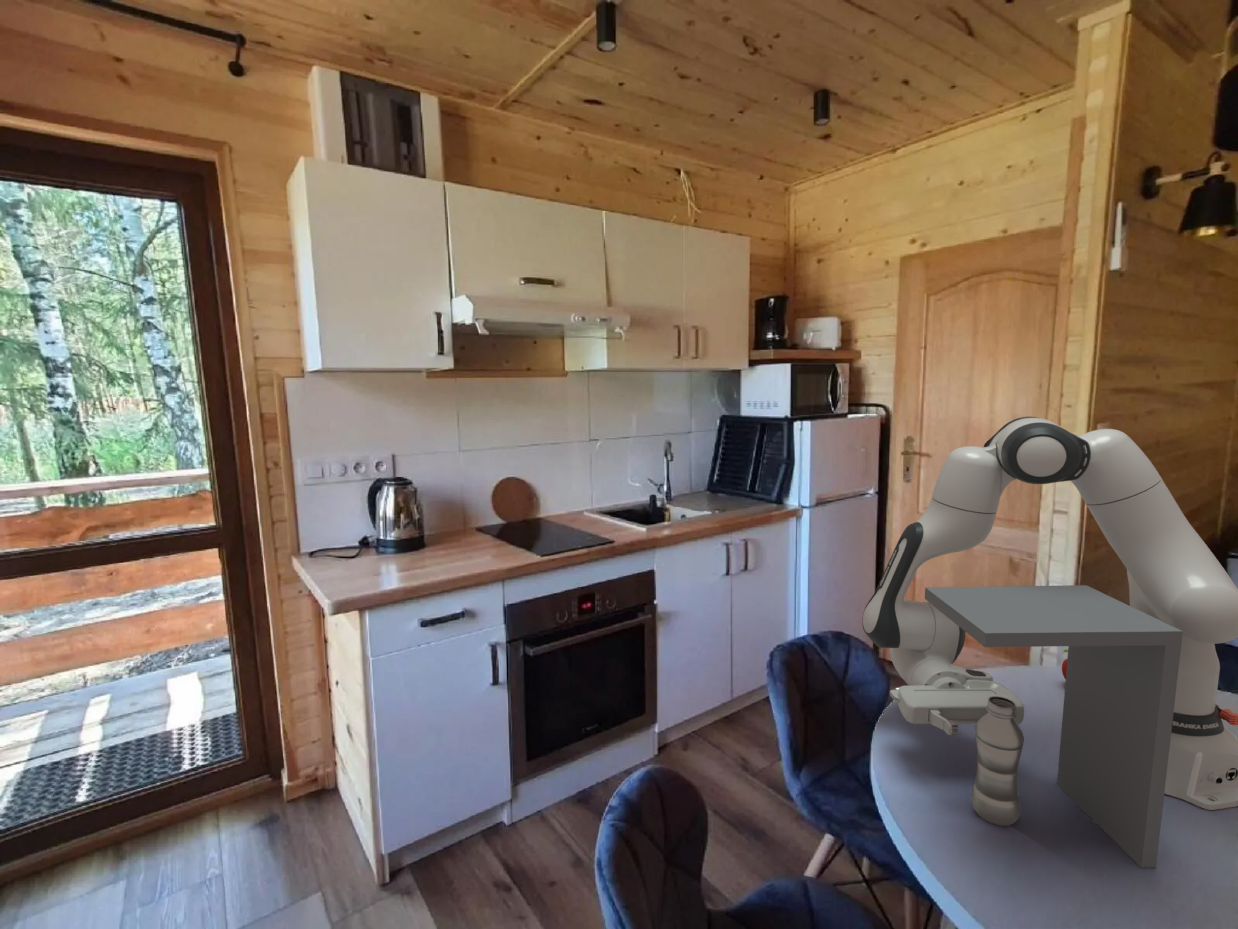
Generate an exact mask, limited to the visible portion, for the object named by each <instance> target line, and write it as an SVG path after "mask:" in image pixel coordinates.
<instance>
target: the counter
mask: <svg viewBox="0 0 1238 929" xmlns="http://www.w3.org/2000/svg"><path fill="white" fill-rule="evenodd" d="M924 600H925V601H926V602H929V603H930V604H932V605H933V606H934V607H935V608H937V609H938V610H939V611H940V612H942V613H943V614H944V615H945V616H947V617H948V618H949V619H950V620H952V621H953V622H954V623H955V624H957V625H958V626H959V627H960V628H962V629H963V630H964V631H965V633H967V634H968V635H969V636H970V637H972V638H973V639H974V640H975V641H976V642H978V643H979V644H980V645H982V646H983V647H984V648H998V647H999V648H1001V647H1002V648H1005V647H1006V648H1007V647H1008V648H1011V647H1012V648H1013V647H1016V648H1017V647H1019V648H1021V647H1022V648H1023V647H1026V648H1027V647H1028V648H1031V647H1067V649H1068V652H1067V659H1068V660H1067V671H1066V680H1065V682H1064V683H1065V686H1064V696H1063V698H1064V699H1063V706H1062V707H1063V710H1062V718H1061V719H1062V720H1061V733H1060V741H1059V742H1060V745H1059V753H1058V754H1059V756H1058V765H1057V766H1058V767H1057V768H1058V769H1057V779H1056V780H1057V781H1056V785H1058V787H1059V788H1060V789H1061V790H1062V791H1063V792H1064V793H1065V794H1066V795H1067V796H1068V797H1069V798H1070V799H1071V800H1072V801H1073V802H1074V803H1076V805H1078V806H1079V808H1081V810H1082V811H1083V812H1084V813H1085V814H1087V815H1088V817H1089V818H1090V819H1091V820H1092V821H1094V823H1096V824H1097V826H1098V827H1100V829H1101V830H1102V831H1103V832H1104V833H1106V834H1107V835H1108V836H1109V838H1111V840H1113V841H1114V842H1115V843H1116V845H1118V847H1120V848H1121V849H1122V850H1123V851H1124V852H1125V853H1126V854H1127V856H1129V857H1130V858H1131V859H1132V860H1133V861H1134V863H1136V864H1137V865H1138V866H1139V867H1140V868H1141V869H1156V868H1157V862H1158V861H1157V860H1158V854H1159V853H1158V852H1159V842H1160V836H1161V825H1162V819H1163V818H1162V817H1163V816H1162V815H1163V809H1164V802H1165V801H1164V800H1165V794H1164V792H1165V783H1166V774H1167V766H1168V757H1169V748H1170V739H1171V730H1172V722H1173V713H1174V704H1175V695H1176V687H1177V678H1178V669H1179V660H1180V651H1181V643H1182V634H1183V631H1181V630H1179V629H1177V628H1175V627H1173V626H1171V625H1169V624H1166V623H1164V622H1162V621H1160V620H1158V619H1156V618H1154V617H1152V616H1150V615H1148V614H1146V613H1143V612H1141V611H1139V610H1137V609H1135V608H1133V607H1131V606H1130V604H1129V605H1128V604H1126V603H1124V602H1123V601H1120V600H1118V599H1115V598H1114V597H1112V596H1110V595H1108V594H1105V593H1103V592H1102V591H1099V590H1097V589H1095V588H1093V587H1091V586H1089V585H1087V584H1081V585H1079V584H1078V585H1075V584H1074V585H1014V586H1013V585H1009V586H1007V585H1005V586H1001V585H1000V586H999V585H997V586H995V585H994V586H938V587H937V586H931V587H930V586H929V587H928V586H925V587H924Z"/></svg>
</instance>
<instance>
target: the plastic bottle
mask: <svg viewBox="0 0 1238 929" xmlns="http://www.w3.org/2000/svg"><path fill="white" fill-rule="evenodd" d="M986 710H987V712H988V713H987V714H985V715H984V716H983V717H982V718H980V719H979V720H978V722H977V724H976V725H975V727H974V729H975V730H974V731H975V738H976V739H975V740H976V741H975V742H976V748H977V751H976V752H977V769H976V776H975V782H974V783H973V787H972V790H971V791H972V792H971V795H970V796H971V802H972V807H973V809H974V811H975V812H976V813H977V815H978V816H979V817H981V819H983V820H984V821H986V822H987V823H991V824H993V825H996V826H997V825H998V826H1002V827H1007V826H1011V825H1014V824H1015V823H1016V822H1017V821H1018V819H1019V817H1020V813H1021V804H1020V797H1019V790H1018V789H1019V787H1018V773H1019V764H1020V759H1021V756H1022V752H1023V748H1024V747H1023V746H1024V743H1025V742H1024V741H1025V736H1024V733H1023V731H1022V729H1021V727H1020V725H1019V724H1017V723H1016V721H1015V720H1014V718H1015V717H1016V712H1015V711H1016V704H1015V703H1014V702H1013V701H1011V700H1010V699H1007V698H1004V697H999V696H992V697H989V698H988V705H987V708H986Z"/></svg>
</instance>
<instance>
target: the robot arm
mask: <svg viewBox="0 0 1238 929" xmlns="http://www.w3.org/2000/svg"><path fill="white" fill-rule="evenodd" d="M1016 480H1018V481H1020V482H1023V483H1027V484H1031V485H1047V484H1048V485H1049V484H1053V483H1059V482H1060V483H1061V482H1062V483H1063V482H1068V481H1069V482H1071V483H1072V484H1073V486H1075V487H1076V490H1077V491H1078V492H1079V494H1080V496H1081V497H1082V500H1083V501H1084V504H1085V505H1086V507H1087V508H1088V510H1089V511H1090V514H1091V515H1092V517H1093V518H1094V520H1095V522H1096V523H1097V526H1098V527H1099V528H1100V531H1101V532H1102V534H1103V536H1104V537H1105V539H1106V540H1107V543H1108V545H1109V546H1111V548H1112V550H1113V551H1114V552H1115V554H1116V555H1117V557H1118V559H1120V561H1121V562H1122V564H1123V565H1124V567H1125V568H1126V575H1127V581H1128V589H1129V590H1128V592H1129V606H1131V607H1133V608H1135V609H1137V610H1139V611H1141V612H1143V613H1146V614H1148V615H1150V616H1152V617H1154V618H1156V619H1158V620H1160V621H1162V622H1164V623H1166V624H1169V625H1171V626H1173V627H1175V628H1177V629H1179V630H1181V631H1183V634H1182V643H1181V651H1180V660H1179V669H1178V678H1177V687H1176V695H1175V704H1174V713H1173V722H1172V730H1171V739H1170V748H1169V757H1168V766H1167V774H1166V783H1165V792H1164V795H1168V796H1172V797H1175V798H1178V799H1182V800H1184V801H1186V802H1188V803H1191V804H1193V805H1195V806H1197V807H1199V808H1202V809H1204V810H1208V811H1209V810H1210V811H1215V810H1216V811H1217V810H1222V809H1228V808H1235V807H1238V736H1236V735H1235V734H1234V733H1233V732H1232V731H1230V730H1229V729H1228V728H1227V727H1225V726H1224V722H1223V721H1226V723H1228V724H1230V725H1231V726H1238V713H1236V712H1234V711H1232V710H1231V709H1229V708H1224V709H1222V708H1221V707H1220V705H1217V703H1216V702H1217V697H1218V696H1217V694H1218V689H1219V688H1218V686H1219V679H1220V677H1219V676H1220V671H1221V670H1220V669H1221V664H1220V660H1219V657H1218V654H1217V651H1216V645H1215V644H1224V643H1229V642H1232V641H1234V640H1237V639H1238V587H1237V586H1236V584H1235V582H1234V581H1233V580H1232V578H1231V577H1230V576H1229V575H1228V573H1227V571H1226V570H1225V568H1224V567H1223V566H1222V564H1221V562H1219V559H1217V557H1216V556H1215V554H1214V553H1213V552H1212V551H1211V549H1210V548H1209V547H1208V545H1207V544H1206V543H1205V542H1204V540H1203V539H1202V538H1201V536H1200V534H1199V533H1198V532H1197V531H1196V530H1195V529H1194V527H1193V526H1192V525H1191V523H1190V522H1189V520H1188V519H1187V517H1186V516H1185V515H1184V512H1183V511H1182V510H1181V507H1179V505H1178V503H1177V501H1176V499H1175V498H1174V496H1173V495H1172V493H1171V491H1170V490H1169V488H1168V487H1167V485H1166V483H1165V481H1164V480H1163V479H1162V476H1161V475H1160V474H1159V472H1158V470H1157V469H1156V467H1155V466H1154V464H1153V463H1152V461H1151V460H1150V459H1149V457H1148V456H1147V455H1146V454H1145V453H1144V452H1143V450H1142V449H1141V448H1140V446H1138V445H1137V444H1136V442H1135V441H1134V440H1133V439H1132V438H1131V437H1130V436H1129V435H1128V434H1126V433H1125V432H1124V431H1121V430H1118V429H1114V428H1101V429H1100V428H1099V429H1095V430H1091V431H1088V432H1086V433H1083V434H1079V435H1076V434H1073V433H1072V432H1071V431H1068V430H1067V429H1065V428H1063V427H1062V426H1061V425H1059V424H1057V423H1055V422H1054V421H1051V420H1049V419H1046V418H1041V417H1038V416H1022V417H1021V416H1020V417H1017V418H1015V419H1012V420H1011V421H1008V422H1007V423H1005V424H1004V425H1003V426H1002V427H1001V428H1000V429H998V431H996V432H995V434H993V435H992V436H991V437H990V438H989V439H988V440H987V441H986V442H985V443H984V444H983V446H978V445H977V446H976V445H969V446H968V445H966V446H961V447H958V448H955V449H953V450H952V451H951V452H949V454H948V455H947V457H946V458H945V461H944V463H943V465H942V467H941V469H940V472H939V474H938V476H937V480H936V482H935V485H934V488H933V492H932V496H931V499H930V501H929V504H928V507H927V508H926V510H925V511H924V513H923V514H922V515H921V516H920V517H919V519H917V520H916V521H914V522H913V523H910V524H908V525H907V526H906V527H905V529H904V530H903V531H902V533H901V535H900V537H899V539H898V541H897V543H896V544H895V547H894V549H893V552H892V553H891V557H890V558H889V561H888V562H887V565H886V567H885V569H884V572H883V573H882V576H881V577H880V578H881V579H880V580H879V583H878V585H877V587H876V589H875V591H874V593H873V595H871V598H870V599H869V600H868V602H867V603H866V606H865V608H864V610H863V613H862V622H861V623H862V625H861V626H862V629H863V631H864V633H865V634H866V636H867V638H868V639H869V640H871V642H873V644H874V645H875V646H876V647H878V648H880V649H882V648H883V649H889V656H890V660H891V662H892V664H893V666H894V669H895V670H896V672H897V673H898V674H899V676H900V677H901V679H902V680H903V681H904V682H905V683H906V684H907V685H902V686H895V687H894V688H893V689H891V690H890V691H889V695H890V697H891V698H892V699H893V700H894V701H895V702H897V706H898V708H899V711H900V713H901V714H902V717H903V719H905V720H906V722H909V723H910V724H913V725H924V724H925V725H928V724H929V725H930V724H931V725H932V726H934V727H935V728H938V729H941V730H942V731H944V732H945V734H947V735H948V736H957V735H958V734H959V732H958V731H959V726H958V725H959V724H962V725H963V724H964V725H967V724H968V725H975V724H977V722H978V720H979V719H980V718H982V717H983V716H984V715H985V714H987V713H988V712H987V710H986V708H987V705H988V698H989V697H992V696H999V697H1004V698H1007V699H1010V700H1011V701H1013V702H1014V703H1015V704H1016V711H1015V712H1016V717H1015V718H1014V720H1015V721H1016V723H1017V724H1018V725H1019V724H1021V723H1023V721H1024V718H1025V717H1024V715H1025V704H1024V702H1023V701H1022V700H1021V699H1020V698H1019V697H1018V696H1017V695H1016V694H1014V693H1013V692H1012V691H1011V690H1009V688H1007V687H1006V686H1004V685H1003V684H1001V683H999V682H996V681H994V678H993V675H991V674H990V673H988V672H987V671H981V670H974V669H970V668H969V669H968V668H964V667H961V666H958V665H956V664H955V665H954V663H955V662H956V660H957V659H958V657H959V656H960V654H961V653H962V650H963V648H964V644H965V643H966V642H965V640H966V632H965V631H964V630H963V629H962V628H960V627H959V626H958V625H957V624H955V623H954V622H953V621H952V620H950V619H949V618H948V617H947V616H945V615H944V614H943V613H942V612H940V611H939V610H938V609H937V608H935V607H934V606H933V605H932V604H930V603H929V602H928V601H920V600H913V599H912V600H911V599H905V598H906V595H907V592H908V591H909V588H910V586H911V584H912V582H913V579H914V577H915V575H916V573H917V571H918V570H919V568H920V567H921V566H922V565H924V564H925V563H926V562H927V561H929V560H932V559H934V558H938V557H941V556H944V555H948V554H953V553H960V552H964V551H967V550H970V549H972V548H975V547H977V546H978V545H980V544H981V543H983V542H984V541H985V540H986V539H987V538H988V536H989V534H990V533H991V532H992V529H993V525H994V523H995V519H996V516H997V512H998V507H999V504H1000V500H1001V497H1002V495H1003V492H1004V491H1005V489H1006V487H1008V485H1009V484H1011V483H1012V482H1014V481H1016ZM957 724H958V725H957Z"/></svg>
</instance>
